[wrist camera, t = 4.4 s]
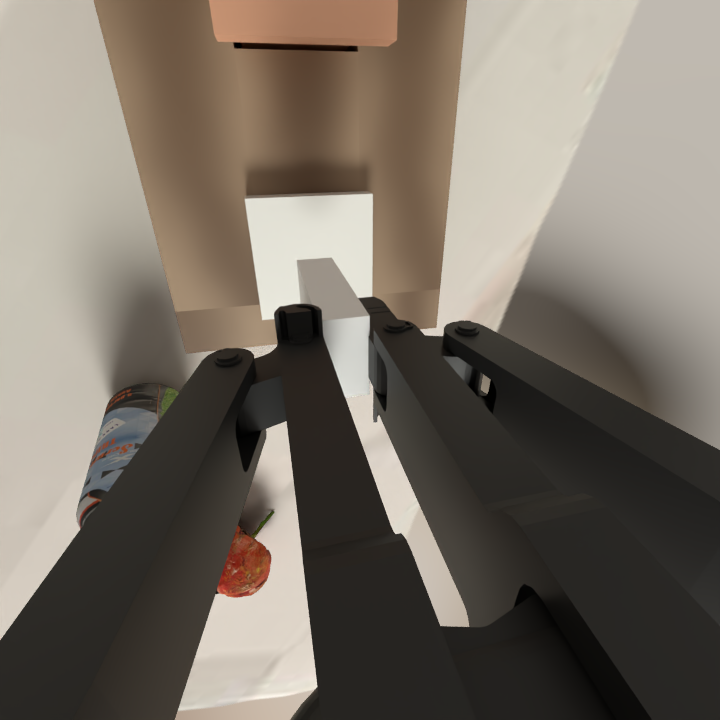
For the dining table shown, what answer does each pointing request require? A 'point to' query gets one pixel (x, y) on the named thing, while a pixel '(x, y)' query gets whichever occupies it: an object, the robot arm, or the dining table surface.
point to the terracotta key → (305, 23)
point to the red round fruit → (245, 565)
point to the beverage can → (121, 439)
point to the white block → (309, 241)
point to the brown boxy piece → (285, 150)
